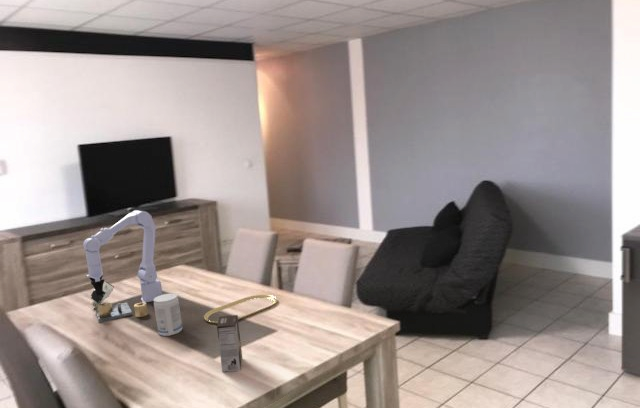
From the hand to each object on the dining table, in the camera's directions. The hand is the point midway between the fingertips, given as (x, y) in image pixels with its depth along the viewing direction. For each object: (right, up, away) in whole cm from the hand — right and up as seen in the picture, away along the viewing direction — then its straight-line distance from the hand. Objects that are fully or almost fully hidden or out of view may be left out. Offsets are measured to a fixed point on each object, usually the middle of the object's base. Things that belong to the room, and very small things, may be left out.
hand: (99, 293), depth 233 cm
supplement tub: (+41, -11, -27) cm, 50 cm away
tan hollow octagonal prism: (+21, -9, -4) cm, 23 cm away
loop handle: (+67, -7, -8) cm, 68 cm away
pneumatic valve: (-7, -8, +11) cm, 15 cm away
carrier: (+7, -10, 0) cm, 12 cm away
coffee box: (+72, -14, -61) cm, 95 cm away
